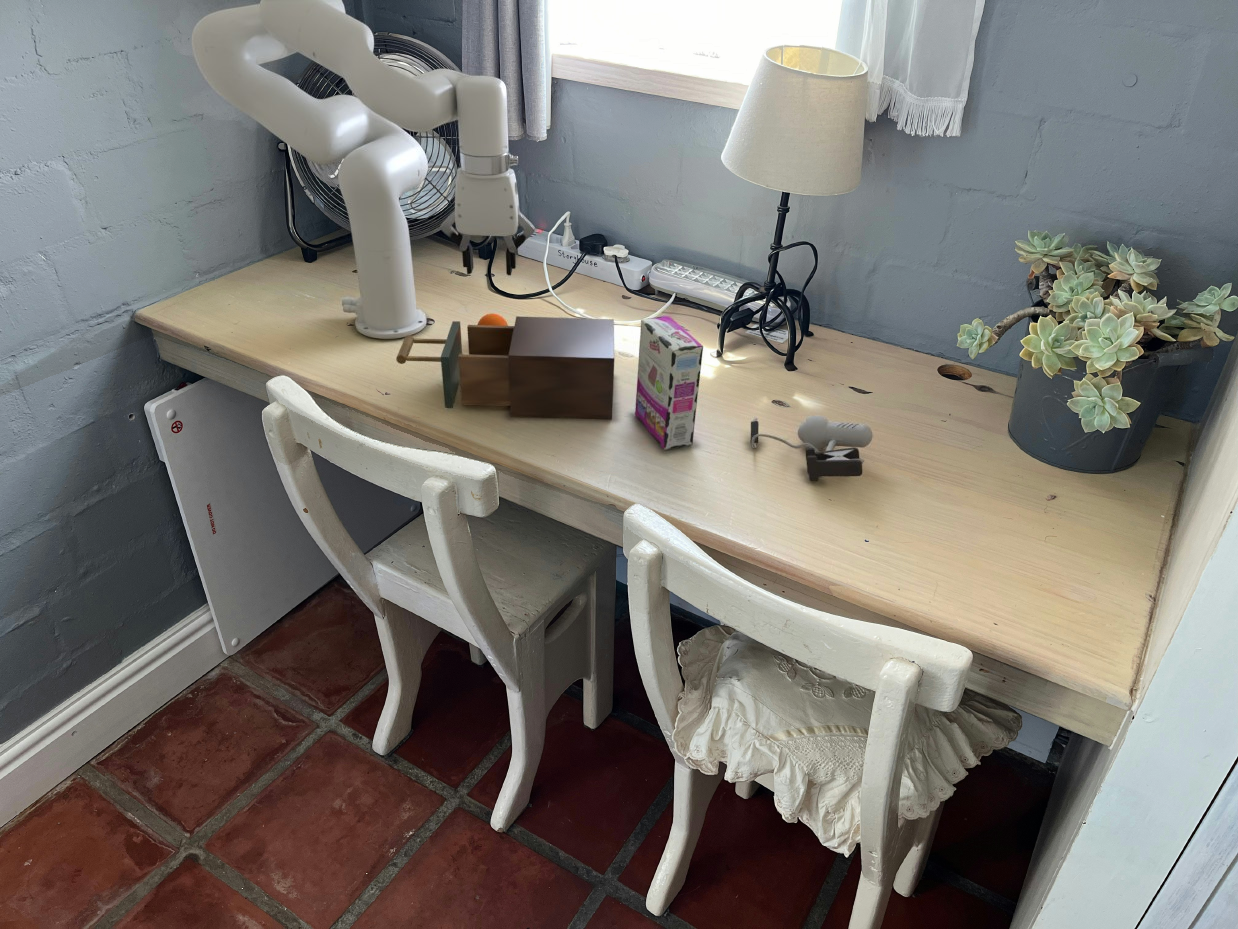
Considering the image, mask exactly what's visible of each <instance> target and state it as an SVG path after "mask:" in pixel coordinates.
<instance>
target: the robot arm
mask: <svg viewBox="0 0 1238 929" xmlns="http://www.w3.org/2000/svg"><path fill="white" fill-rule="evenodd" d="M374 37H375V36H374V34H373V32H372V29H371V28H370V27H369V26H368V25H367V24H365V23H364V22H361V20H358V19H356V18H355V17H352V16H351V15H349V14H347V13H346V8H345V5H344V2H343V0H260V2H259V3H255V4H250V5H244V6H238V7H232V8H226V9H225V8H224V9H221V10H217V11H214V12H211V13H209V14H207V15H205V16H204V17H202V18H201V19H200V20H198V21H197V23H196V24H195V26H194V27H193V30H192V33H191V48H192V53H193V57H194V60H195V63H196V65H197V67H198V70H199V72H201V75H202V76H203V78H204V79H205V81H206V82H207V83H208V85H209V86H210V87H211V88H212V89H213V91H214V92H216V93H217V95H219V96H220V97H221V98H222V99H223V100H225V101H226V102H228V103H229V104H230V105H231V106H233V107H235V108H236V109H237V110H239V111H240V112H242V113H244V114H245V115H247V116H248V117H250V118H252V119H253V120H255V121H256V122H257V123H259V124H260V125H262V126H263V127H264V128H265V129H266V130H267V131H269V132H270V133H271V134H273V135H274V136H276V137H277V138H278V139H280V140H281V141H282V142H284V143H285V144H287V145H288V146H289V147H290V148H292V149H293V150H294V151H296V152H297V153H298V154H300V155H302V157H304V158H306V159H307V160H308V161H310V162H311V163H314V164H317V165H321V166H327V165H331V164H334V163H337V162H340V161H341V163H340V165H339V168H338V173H337V174H338V175H337V177H338V178H337V179H338V186H339V190H340V193H341V196H342V199H343V201H344V204H345V209H346V211H347V215H348V220H349V225H350V232H351V240H352V245H353V252H354V259H355V266H356V274H357V279H358V280H357V281H358V282H357V283H358V289H359V296H360V297H359V298H356V297H349V296H343V297H342V299H341V306H342V311H343V313H348V314H351V313H353V314H355V315H356V317H355V319H354V324H355V328H356V331H358V332H359V334H362V335H364V336H366V337H369V338H373V339H379V340H380V339H381V340H394V339H395V340H396V339H400V338H405V337H406V336H407V335H411V336H413V335H415V334H418V333H419V332H420V331H422V330H423V329H424V328H425V327H426V325H427V324H428V322H427V320H428V319H427V315H426V314H425V312H424V311H422V310H421V309H420V308H417V307H418V306H417V298H416V288H415V278H414V268H413V257H412V248H411V239H410V230H409V224H408V221H407V218H406V215H405V213H404V211H403V209H402V207H401V204H400V198H401V197H402V196H404V195H405V194H407V193H409V192H410V191H413V190H414V189H415V188H417V187H418V186H420V185H421V184H422V183H423V182H424V180H425V179H426V177H427V174H428V170H429V162H428V158H427V155H426V153H425V150H424V149H423V147H422V146H421V145H420V143H419V142H418V141H417V140H416V138H414V137H413V136H412V135H410V134H409V133H408V132H407V131H410V132H414V133H415V132H416V133H425V132H429V131H432V130H434V129H436V128H438V127H440V126H443V125H445V124H447V123H448V124H449V123H452V122H454V121H457V126H458V127H457V128H458V129H457V130H458V141H459V142H458V145H459V157H460V158H459V159H460V167H458V168H457V170H456V178H455V187H454V188H455V189H454V210H453V211H452V212H451V213H450V214H449V215H448V216H447V217H446V218H445V219H444V220H443V222H442V223H441V224H440V226H439V228H440V231H441V232H443V233H444V235H446V236H447V237H449V238H450V240H452V242H453V243H454V244H455V245H456V246H458V247H459V250H460V251H461V256H462V268H466V274H467V275H471V274H472V273H473V270H474V268H475V266H474V252H473V251H474V250H473V246H472V244H471V243H470V242H471V238H472V236H486V237H502V238H503V240H504V242H505V244H506V247H507V248H506V251H505V269H506V270H505V271H506V275H507V276H512V272H513V270H516V268H517V256H516V255H517V253H516V252H517V250H518V249H519V248H520V247H521V246H522V245H523V244H524V243H525V242H526V241H527V240H528V239H529V238H530V237H531V236H532V235H533V234H534V233H535V232H536V226H535V225H534V224H533V223H532V222H531V221H530V220H529V219H528V218H527V217H526V216H525V215H524V214H523V213H522V212H521V210H520V200H519V192H518V184H517V179H516V178H517V177H516V173H515V170H514V169H513V168H512V166H519V156H518V155H513V154H511V152H510V150H509V125H508V124H509V122H508V94H507V87H506V84H505V82H504V81H503V80H502V79H500V78H498V77H495V76H491V75H490V76H489V75H470V74H467V73H464V72H460V71H457V70H452V69H449V68H436V69H433V70H430V71H426V72H423V73H420V74H417V75H415V76H412V77H411V76H409V75H407V74H405V73H402V72H401V71H400V70H398V69H395V68H394V67H392V66H391V65H389V64H387V63H385V62H384V61H382V60H381V59H380V58H379V57H377V56H376V55H375V54H374V48H375V38H374ZM296 53H298V54H301V55H302V56H304V57H306V58H308V59H309V60H311V61H313V62H315V63H317V64H318V65H320V66H322V67H323V68H325V69H327V70H329V71H331V73H334V74H336V75H337V76H339V77H341V78H343V79H344V80H345V83H346V84H347V86H348V88H349V89H350V91H351V92H352V93H353V94H354V95H355V96H353V95H349V94H336V95H332V96H330V97H326V98H322V99H321V98H315V97H314V96H312V95H311V94H309V93H307V92H306V91H304V90H303V89H301V88H300V87H299V86H297V85H296V84H295V83H294V82H292V81H291V80H290V79H288V78H286V77H284V76H282V75H280V74H278V73H276V72H273V71H271V70H269V69H266V68H265V67H262V66H261V65H262V64H265V63H270V62H274V61H277V60H280V59H281V60H282V59H283V58H286V57H289V56H292V55H294V54H296ZM404 129H405V130H404ZM406 130H407V131H406ZM454 224H455V228H454V227H453V225H454ZM518 227H522V228H523V230H522V232H519V233H518V229H519V228H518ZM517 233H518V235H516V234H517ZM515 235H516V236H515Z"/></svg>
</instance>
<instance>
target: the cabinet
mask: <svg viewBox="0 0 1238 929" xmlns="http://www.w3.org/2000/svg"><path fill="white" fill-rule="evenodd" d="M513 326H514V330H513V335H512V340H511V345H510V351H509V383H510V406H509V408H510V410H509V411H510V417H511V418H533V419H534V418H536V419H538V418H539V419H540V418H541V419H573V420H574V419H575V420H576V419H577V420H578V419H579V420H610V421H611V420H613V408H614V407H613V406H614V405H613V404H614V383H615V380H614V379H615V320H614V318H584V317H582V318H580V317H567V318H559V317H550V316H548V317H547V316H517V315H516V316H515V320H514V325H513Z"/></svg>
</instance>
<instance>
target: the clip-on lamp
mask: <svg viewBox="0 0 1238 929" xmlns="http://www.w3.org/2000/svg"><path fill="white" fill-rule="evenodd" d="M759 428H760V427H759V421H758V418H757V417H754V418H753V420H751V421H750V444H751V447H752V448H753V449H756V448H757V444H759V437H764V438H769V439H773V440H776V441H779V442H780V443H783V444H785V445H787V446H788V447H790V448H792V449H797V450H798V449H801V448H804V447H805V449H804V450H805V461H806V462H805V463H806V469H807V470H806V471H807V474H808V480H809V482H811V483H816V482H819V479H820V478H822V477H823V478H827V477H828V478H829V477H831V478H832V477H833V478H835V477H836V478H837V477H838V478H839V477H840V478H841V477H845V478H846V477H848V478H849V477H861V476H862V475H863V464H864V463H865V459H863V458H862V457H860V450H859V448H865V447H867V446H869V445H870V443H871V442H872V440H873V431H872V428H871V427H870V426H869V425H868V424H866V423H855V422H841V421H829V420H828V419H827V418H826V417H824V416H821V415H816V414H815V415H810V416H807V418H806V420H805V421H804V422H802V423H801V424H800V425H799V426H798V429H797V436H798V439H799V440H800V441H801V442H803V443H800V444H797V445H795V444H793V443H790V442H789V441H787V440H785V439H783V438H780V437H778V436H775V435H771V434H766V433H759ZM835 447H844V448H838V449H835ZM845 447H846V448H845ZM825 448H826V449H825ZM823 449H825V450H824V451H823ZM820 450H822V451H820Z"/></svg>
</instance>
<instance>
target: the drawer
mask: <svg viewBox="0 0 1238 929" xmlns="http://www.w3.org/2000/svg"><path fill="white" fill-rule="evenodd" d="M466 327H467V328H466V330H467V343H468V345H467V346H468V354H464V353H463V344H462V342H463V341H462V330H461V329H462V328H461V321H457V320H456V321H452V322H451V325H450V328H449V331H448V334H447V337H446V339H445V338H414V336H413V335H407V336H406V337H404V339H403V341H402V344H401V346H400V349H399V351H398V353H397V355H396V357H395V358H396V359H395V360H396V363H398V364H401V365H404V364H406V363H407V362H428V363H429V362H431V363H432V362H433V363H440V366H441V378H442V380H441V381H442V389H443V390H442V391H443V402H444V409H454V406H455V403H456V398H457V395H458V391H459V388H460V399H461V405H463V406H465V405H466V406H467V405H468V406H503V407H510V383H509V351H510V345H511V340H512V335H513V330H514V325H508V326H491V325H478V324H467V326H466ZM414 344H427V345H428V344H429V345H431V344H432V345H444V346H443V349H442V352H441V354H440V356H427V355H426V356H423V355H422V356H421V355H410V352H411V350H412V348H413V345H414Z"/></svg>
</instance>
